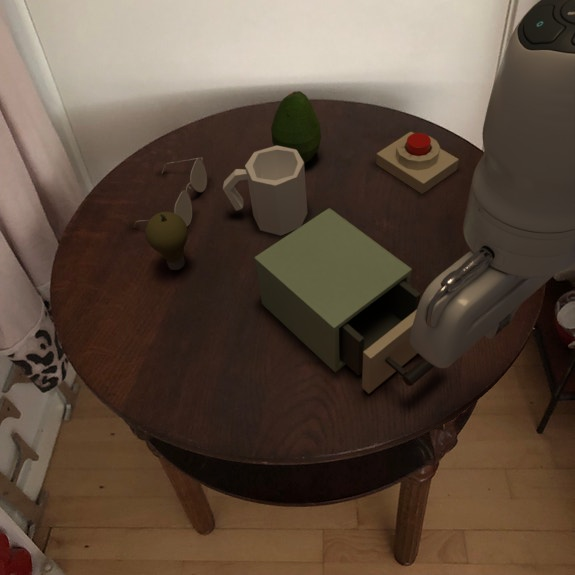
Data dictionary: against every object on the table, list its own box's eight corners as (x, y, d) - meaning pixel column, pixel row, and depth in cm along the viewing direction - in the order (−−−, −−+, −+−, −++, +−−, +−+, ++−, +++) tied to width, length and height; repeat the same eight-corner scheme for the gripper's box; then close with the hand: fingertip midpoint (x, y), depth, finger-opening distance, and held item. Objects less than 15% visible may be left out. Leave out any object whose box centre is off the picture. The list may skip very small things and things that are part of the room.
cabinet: (406, 316, 81) (412, 268, 74) (335, 373, 77) (334, 328, 69) (330, 256, 89) (329, 207, 82) (262, 304, 84) (253, 257, 77)
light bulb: (205, 264, 90) (191, 215, 82) (175, 288, 87) (159, 239, 80) (179, 246, 92) (164, 196, 85) (150, 268, 90) (132, 219, 82)
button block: (457, 170, 98) (460, 149, 95) (422, 194, 96) (424, 174, 92) (410, 141, 104) (412, 122, 101) (375, 164, 101) (376, 144, 98)
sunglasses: (184, 236, 94) (172, 212, 90) (135, 236, 96) (121, 213, 93) (211, 175, 102) (200, 151, 98) (165, 177, 105) (154, 153, 101)
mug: (307, 194, 97) (303, 143, 90) (307, 234, 92) (304, 184, 84) (231, 198, 98) (221, 148, 91) (227, 238, 93) (216, 188, 85)
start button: (434, 149, 97) (435, 140, 95) (418, 159, 95) (419, 150, 94) (417, 138, 98) (418, 129, 97) (401, 149, 97) (402, 140, 96)
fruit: (323, 143, 105) (321, 80, 96) (320, 174, 100) (317, 111, 91) (277, 143, 106) (270, 80, 97) (271, 174, 101) (264, 111, 92)
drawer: (460, 360, 76) (470, 323, 70) (394, 418, 72) (399, 383, 65) (358, 279, 85) (359, 239, 79) (294, 325, 81) (290, 288, 75)
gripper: (468, 321, 41) (443, 419, 51) (643, 173, 48) (589, 286, 59) (397, 268, 44) (387, 370, 55) (571, 137, 51) (532, 250, 62)
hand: (493, 326), depth 57 cm, fingers closed
